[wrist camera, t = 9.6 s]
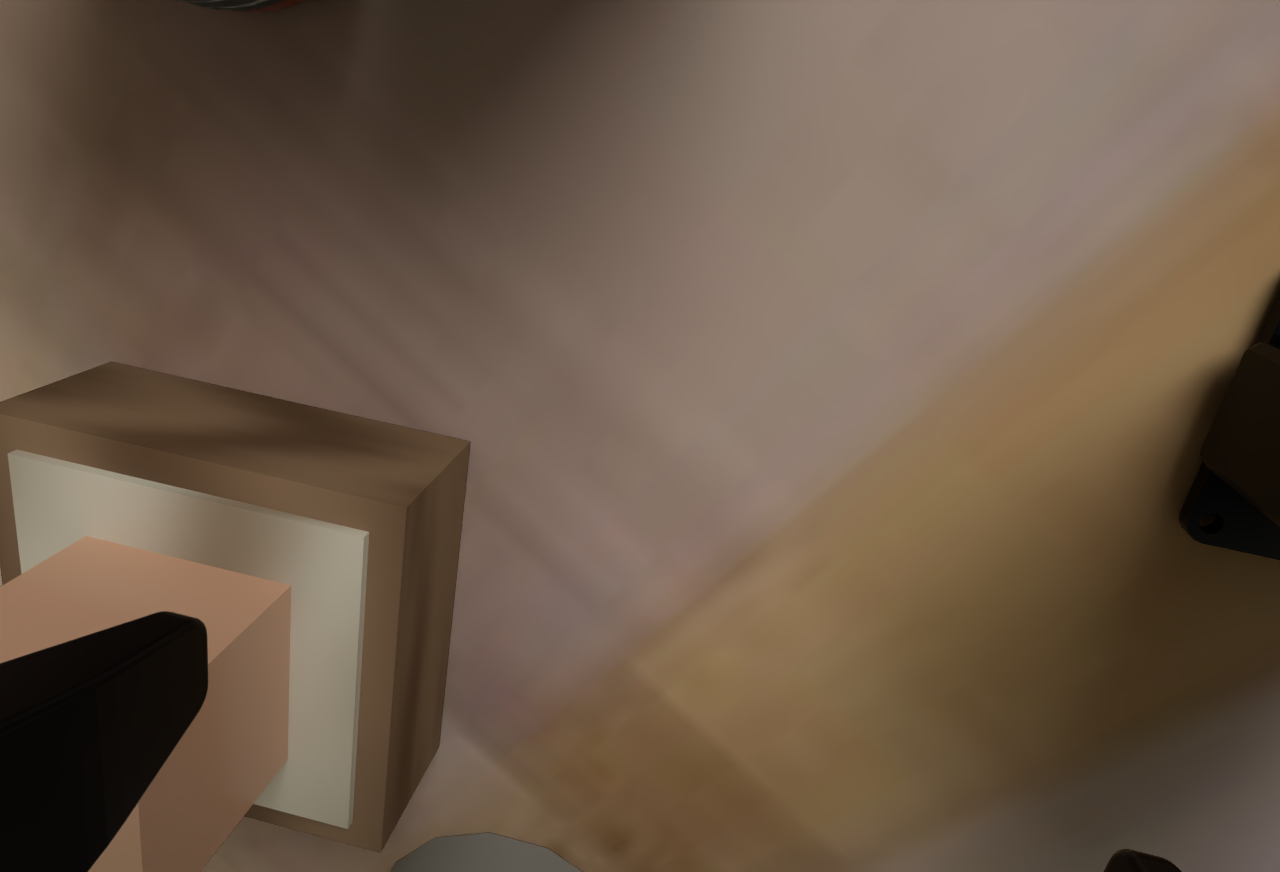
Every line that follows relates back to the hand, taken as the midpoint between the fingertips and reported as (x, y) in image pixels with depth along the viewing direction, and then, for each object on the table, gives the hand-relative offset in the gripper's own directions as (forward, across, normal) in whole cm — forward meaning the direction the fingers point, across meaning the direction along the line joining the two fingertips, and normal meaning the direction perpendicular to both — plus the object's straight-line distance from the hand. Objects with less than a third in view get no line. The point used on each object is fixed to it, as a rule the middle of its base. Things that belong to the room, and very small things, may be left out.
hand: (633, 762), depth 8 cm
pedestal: (+13, +11, +8) cm, 19 cm away
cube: (+9, +11, +8) cm, 16 cm away
